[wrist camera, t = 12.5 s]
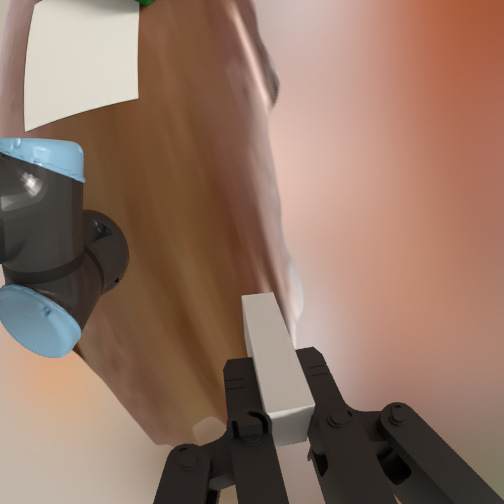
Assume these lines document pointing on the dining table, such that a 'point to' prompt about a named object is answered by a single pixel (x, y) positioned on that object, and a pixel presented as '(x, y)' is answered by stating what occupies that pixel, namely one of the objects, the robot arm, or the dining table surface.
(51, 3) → the mat
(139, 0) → the soya milk
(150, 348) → the dining table surface
